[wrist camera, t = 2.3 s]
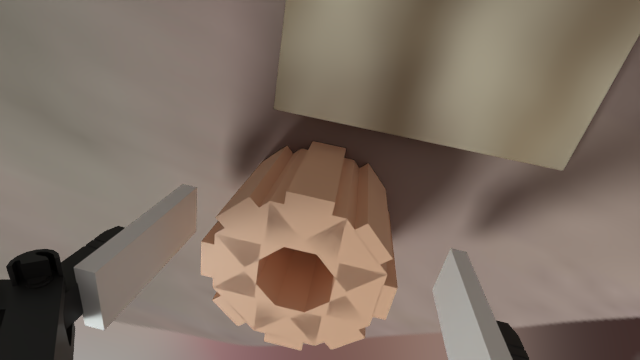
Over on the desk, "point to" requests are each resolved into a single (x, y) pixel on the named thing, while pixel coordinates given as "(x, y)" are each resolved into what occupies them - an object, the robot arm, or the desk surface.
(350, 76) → the gear board
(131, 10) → the desk surface
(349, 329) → the loose gear
